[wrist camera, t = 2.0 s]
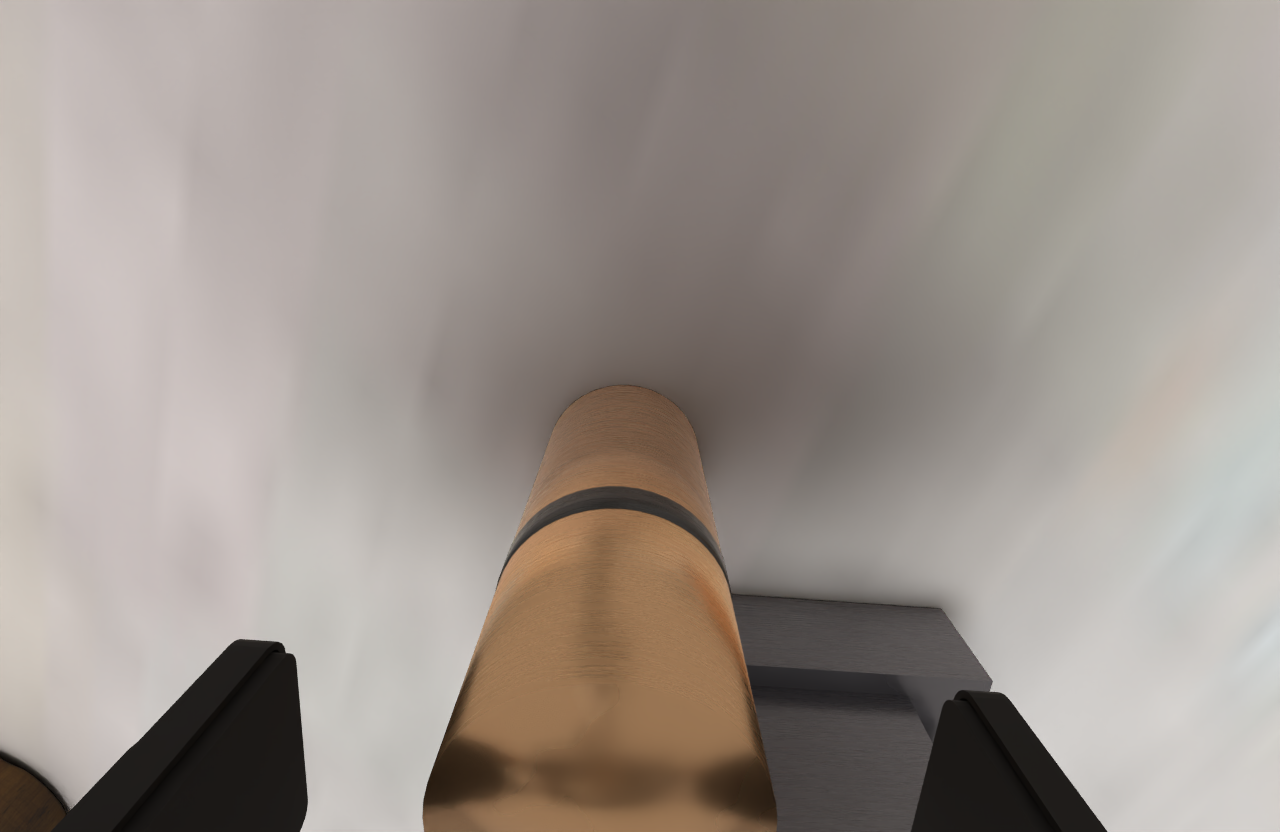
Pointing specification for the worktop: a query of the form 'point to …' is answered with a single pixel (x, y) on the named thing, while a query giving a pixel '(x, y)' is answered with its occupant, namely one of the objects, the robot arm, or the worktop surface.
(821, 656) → the bracket
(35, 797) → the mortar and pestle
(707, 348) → the worktop surface
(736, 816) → the copper tube
